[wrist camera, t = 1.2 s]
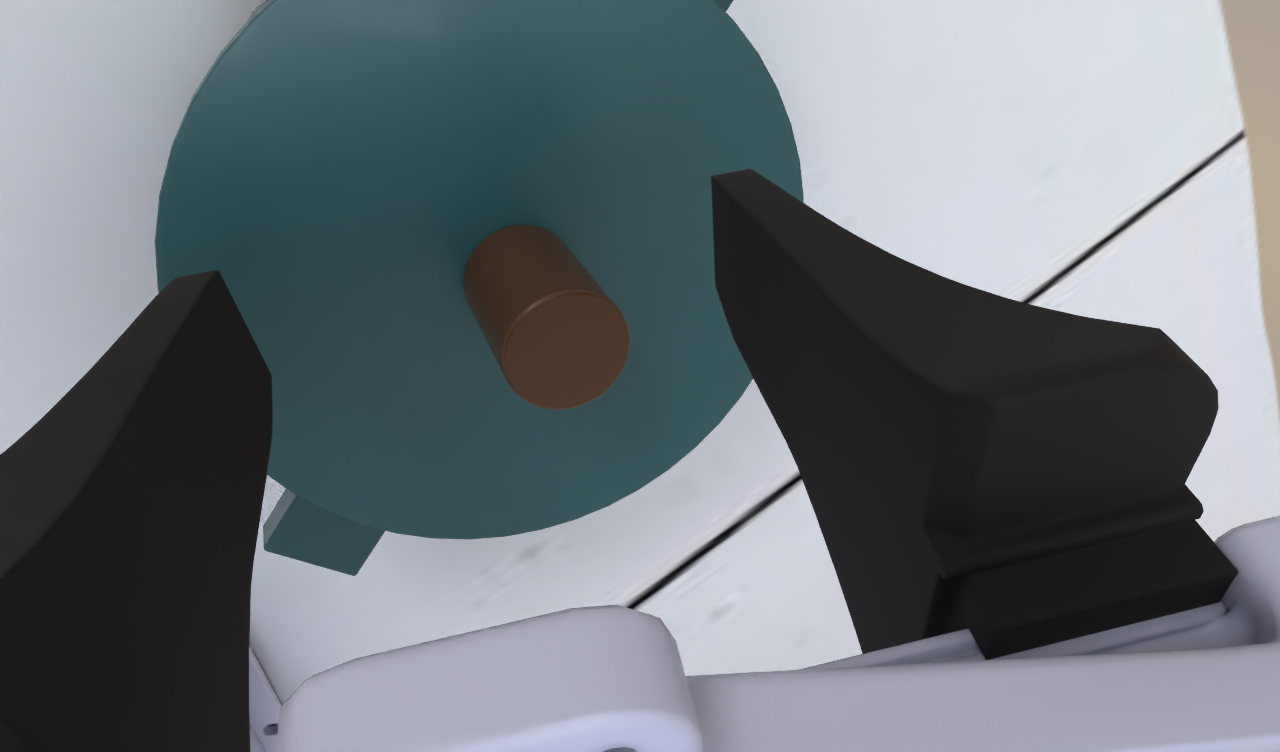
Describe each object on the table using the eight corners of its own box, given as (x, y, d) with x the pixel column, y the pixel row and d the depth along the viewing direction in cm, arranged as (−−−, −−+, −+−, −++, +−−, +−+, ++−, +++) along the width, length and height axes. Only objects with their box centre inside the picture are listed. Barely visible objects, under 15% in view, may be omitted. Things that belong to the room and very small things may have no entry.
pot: (812, 32, 26) (943, 70, 21) (483, 515, 30) (529, 642, 25) (426, -320, 19) (487, -385, 14) (63, 365, 23) (11, 501, 18)
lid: (883, 155, 22) (1015, 216, 18) (580, 573, 25) (640, 701, 21) (383, -271, 15) (429, -319, 11) (36, 389, 18) (-24, 534, 14)
